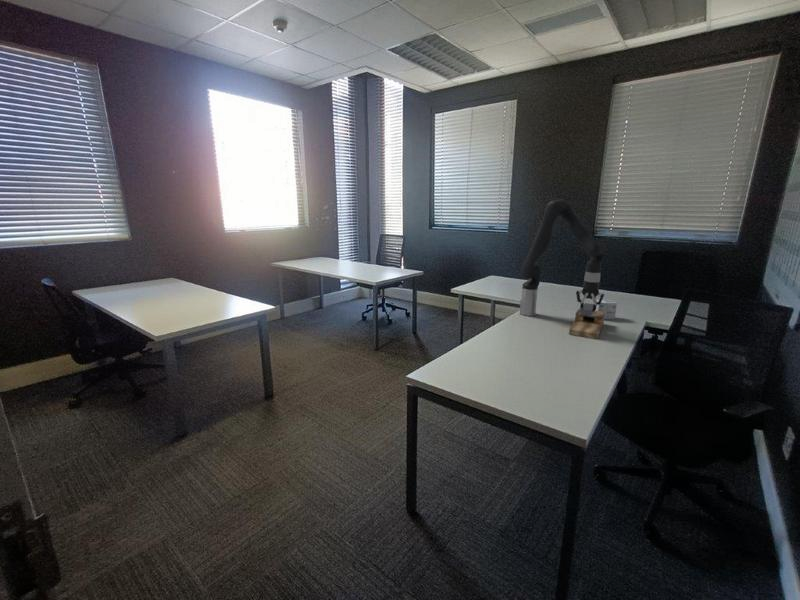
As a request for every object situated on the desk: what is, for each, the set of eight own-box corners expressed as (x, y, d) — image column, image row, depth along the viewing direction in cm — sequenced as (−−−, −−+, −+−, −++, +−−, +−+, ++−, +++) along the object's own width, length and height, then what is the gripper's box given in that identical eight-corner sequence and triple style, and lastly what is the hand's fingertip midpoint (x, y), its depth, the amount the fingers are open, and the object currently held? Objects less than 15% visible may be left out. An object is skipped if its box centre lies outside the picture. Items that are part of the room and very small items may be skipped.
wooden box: (568, 334, 199) (570, 321, 197) (577, 320, 223) (578, 308, 222) (597, 339, 192) (599, 326, 190) (603, 323, 216) (604, 312, 214)
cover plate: (580, 314, 196) (581, 309, 195) (584, 308, 207) (585, 303, 206) (591, 315, 193) (591, 310, 193) (594, 309, 205) (594, 304, 204)
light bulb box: (610, 316, 230) (612, 299, 227) (615, 319, 223) (617, 302, 220) (592, 316, 231) (594, 299, 228) (597, 319, 224) (599, 302, 221)
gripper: (576, 280, 196) (572, 310, 201) (606, 283, 188) (601, 314, 193) (578, 277, 202) (574, 306, 207) (607, 280, 195) (603, 310, 199)
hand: (587, 310), depth 200 cm, fingers closed on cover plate, 5 cm apart
